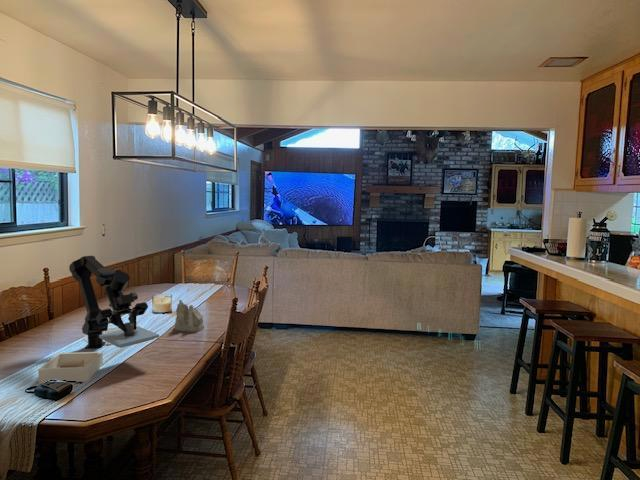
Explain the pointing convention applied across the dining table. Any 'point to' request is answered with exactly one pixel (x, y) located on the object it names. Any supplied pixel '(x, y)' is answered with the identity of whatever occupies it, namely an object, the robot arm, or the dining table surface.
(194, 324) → the grey jagged lump
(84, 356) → the box
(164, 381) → the dining table surface
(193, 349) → the dining table surface
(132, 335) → the lid
